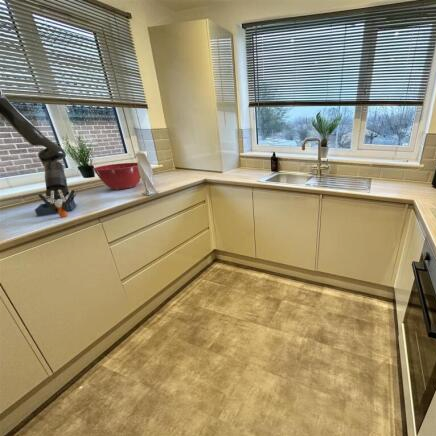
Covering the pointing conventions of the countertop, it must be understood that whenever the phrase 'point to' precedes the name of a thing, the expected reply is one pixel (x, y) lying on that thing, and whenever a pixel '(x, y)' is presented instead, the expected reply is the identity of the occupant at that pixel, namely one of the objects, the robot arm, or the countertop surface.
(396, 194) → the countertop surface
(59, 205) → the glue stick
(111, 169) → the mixing bowl
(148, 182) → the white statue
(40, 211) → the tote
